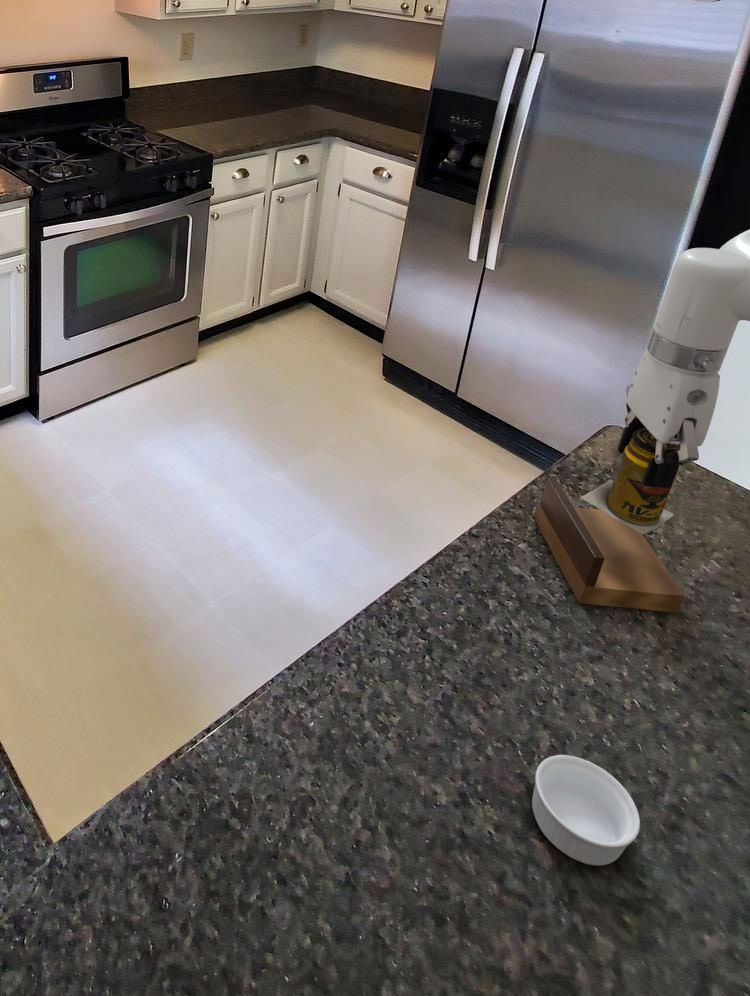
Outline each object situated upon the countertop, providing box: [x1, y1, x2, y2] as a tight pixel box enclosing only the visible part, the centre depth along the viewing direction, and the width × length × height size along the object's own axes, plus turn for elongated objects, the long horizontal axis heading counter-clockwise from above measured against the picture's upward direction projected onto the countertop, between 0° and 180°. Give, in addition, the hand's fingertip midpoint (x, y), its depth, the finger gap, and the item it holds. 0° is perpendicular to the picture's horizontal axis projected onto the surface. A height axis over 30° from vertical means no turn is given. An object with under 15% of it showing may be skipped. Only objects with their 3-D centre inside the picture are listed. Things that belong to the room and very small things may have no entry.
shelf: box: [534, 477, 686, 614], centre depth 109 cm, size 12×16×8 cm
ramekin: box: [531, 754, 641, 866], centre depth 78 cm, size 9×9×4 cm
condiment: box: [579, 428, 679, 536], centre depth 105 cm, size 7×8×12 cm
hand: (643, 467), depth 104 cm, fingers closed on condiment, 6 cm apart
